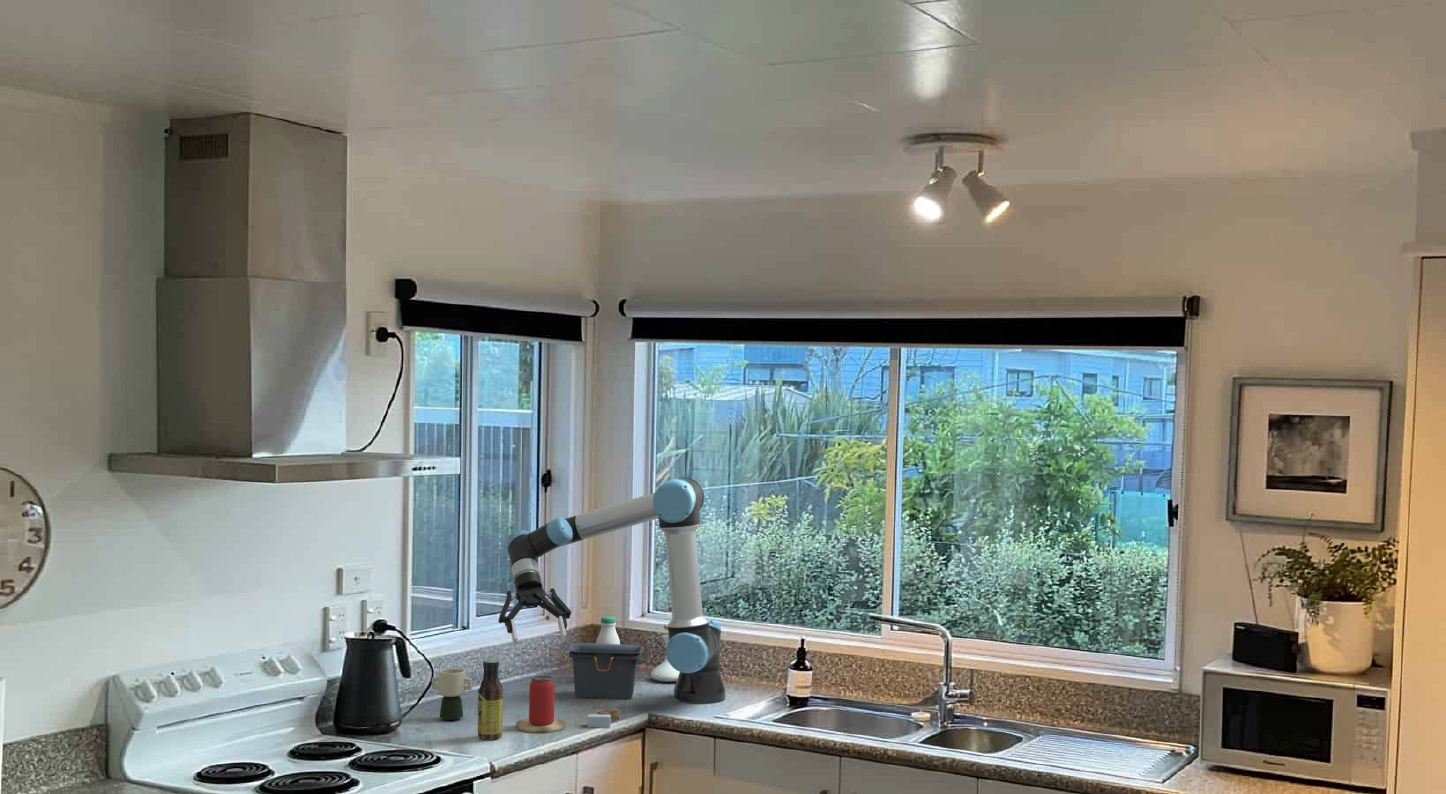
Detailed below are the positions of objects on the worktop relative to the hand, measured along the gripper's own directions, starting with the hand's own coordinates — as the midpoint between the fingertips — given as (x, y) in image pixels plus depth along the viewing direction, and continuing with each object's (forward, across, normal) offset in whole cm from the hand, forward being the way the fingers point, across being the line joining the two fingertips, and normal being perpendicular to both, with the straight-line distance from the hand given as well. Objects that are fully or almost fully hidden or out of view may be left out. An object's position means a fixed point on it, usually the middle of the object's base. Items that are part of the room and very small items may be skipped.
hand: (540, 639), depth 377 cm
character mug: (+14, +24, -15) cm, 31 cm away
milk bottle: (-10, -29, -40) cm, 50 cm away
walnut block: (+24, -16, -6) cm, 29 cm away
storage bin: (+3, -23, -26) cm, 35 cm away
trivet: (+25, +4, -4) cm, 25 cm away
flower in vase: (-8, -49, -38) cm, 63 cm away
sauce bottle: (+30, +19, +1) cm, 35 cm away
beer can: (+24, +3, -4) cm, 25 cm away
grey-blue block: (+27, -12, -2) cm, 30 cm away
